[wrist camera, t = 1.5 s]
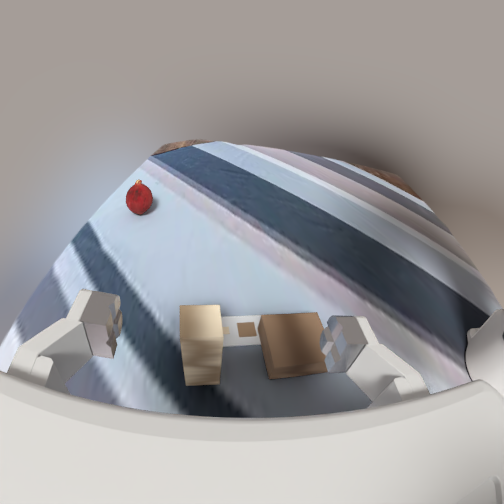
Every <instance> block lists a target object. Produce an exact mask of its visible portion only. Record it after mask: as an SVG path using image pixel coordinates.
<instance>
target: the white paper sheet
mask: <svg viewBox="0 0 504 504" xmlns="http://www.w3.org/2000/svg"><path fill="white" fill-rule="evenodd" d="M260 318H261V315H252V316H228V317H221V320H222V328H223V336H224V338H223V347H230V346H248V345H261V342H260V338H259V334H258V325H259V322H260Z"/></svg>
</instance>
